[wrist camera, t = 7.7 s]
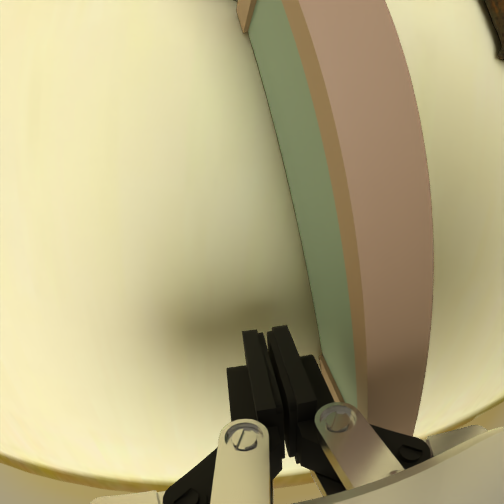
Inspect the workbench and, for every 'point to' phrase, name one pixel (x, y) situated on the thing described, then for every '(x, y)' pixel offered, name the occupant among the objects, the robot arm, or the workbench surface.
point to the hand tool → (497, 20)
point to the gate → (354, 192)
